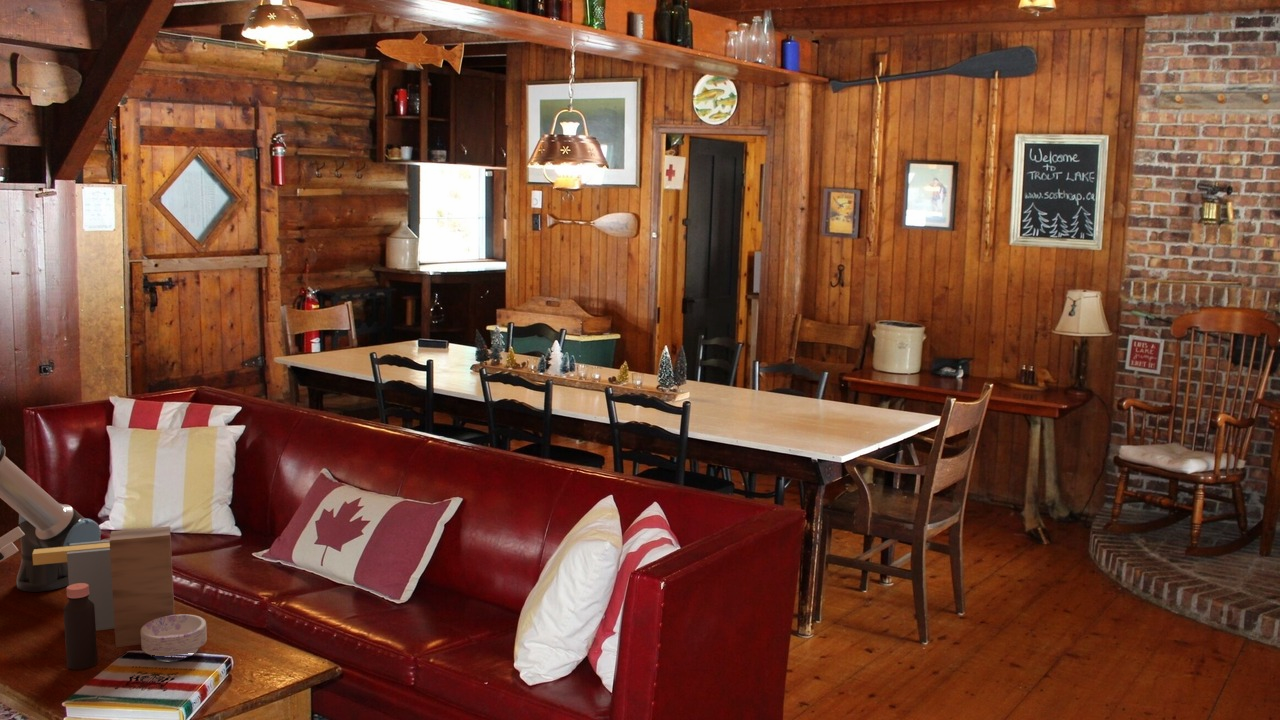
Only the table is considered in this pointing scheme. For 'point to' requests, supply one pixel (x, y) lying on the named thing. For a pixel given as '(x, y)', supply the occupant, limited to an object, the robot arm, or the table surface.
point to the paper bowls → (173, 635)
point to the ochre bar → (61, 553)
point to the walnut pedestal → (140, 580)
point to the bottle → (80, 628)
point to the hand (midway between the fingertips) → (18, 538)
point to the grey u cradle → (94, 580)
